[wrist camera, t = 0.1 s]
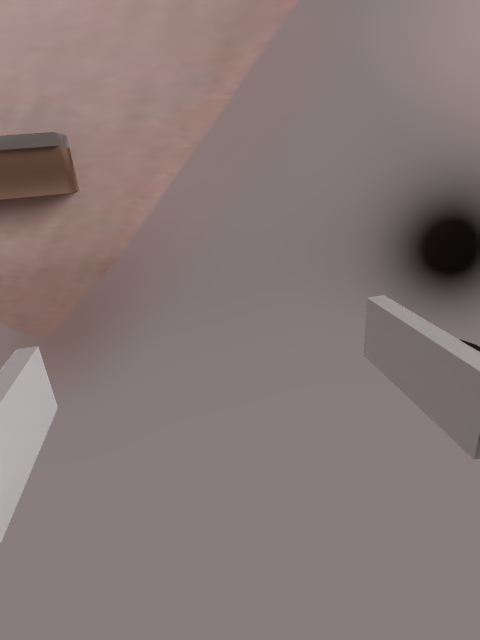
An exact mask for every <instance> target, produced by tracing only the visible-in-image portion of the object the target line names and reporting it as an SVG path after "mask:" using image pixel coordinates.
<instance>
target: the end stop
mask: <svg viewBox="0 0 480 640" xmlns="http://www.w3.org/2000/svg"><path fill="white" fill-rule="evenodd" d="M78 190H79V188H78V184H77V179H76V175H75V171H74V166H73V162H72V158H71V153H70V149H69V145H68V140H67V136H65V135H61V134H58V133H54V132H49V133H35V134H21V135H6V136H0V200H2V199H13V198H24V197H35V196H46V195H56V194H67V193H72V192H75V191H78Z"/></svg>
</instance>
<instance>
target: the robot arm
mask: <svg viewBox="0 0 480 640" xmlns="http://www.w3.org/2000/svg"><path fill="white" fill-rule="evenodd" d="M364 356H365V357H366V358H367V359H368V360H369V361H370V362H371V363H372V364H373V365H374V366H376V367H377V368H378V369H379V370H380V371H381V372H382V373H383V374H384V375H385V376H386V377H387V378H388V379H389V380H390V381H391V382H392V383H394V385H396V386H397V387H398V388H399V389H400V390H401V391H402V392H403V393H404V394H405V395H406V396H407V397H408V398H409V399H410V400H411V401H413V402H414V403H415V404H416V405H417V406H418V407H419V408H420V409H421V410H422V411H423V412H424V413H425V414H426V415H427V416H428V417H429V418H430V419H432V420H433V421H434V422H435V423H436V424H437V425H438V426H439V427H440V428H441V429H442V430H443V431H444V432H445V433H446V434H448V435H449V436H450V437H451V438H452V439H453V440H454V441H455V442H456V443H457V444H458V445H459V446H460V447H461V448H462V449H463V450H465V452H466V453H468V454H469V455H470V456H471V457H472V458H473V459H478V458H480V347H479V346H477V345H475V344H472V343H469V342H466V341H463V340H458V339H457V338H455V337H453V336H452V335H450V334H448V333H447V332H445V331H443V330H442V329H440V328H438V327H436V326H435V325H433V324H431V323H430V322H428V321H426V320H425V319H423V318H421V317H420V316H418V315H416V314H414V313H413V312H411V311H409V310H408V309H406V308H404V307H403V306H401V305H399V304H398V303H396V302H394V301H392V300H391V299H389V298H387V297H386V296H384V295H383V296H376V297H369V298H367V306H366V324H365V343H364ZM57 408H58V407H57V404H56V401H55V398H54V395H53V391H52V388H51V385H50V382H49V379H48V376H47V373H46V370H45V366H44V364H43V360H42V357H41V354H40V351H39V348H38V346H37V347H30V348H23V349H16V350H15V352H14V353H13V354H12V355H11V357H10V358H9V359H8V361H7V362H6V363H5V364H4V366H3V367H2V368H1V370H0V544H1V541H2V539H3V537H4V534H5V532H6V529H7V527H8V525H9V522H10V520H11V518H12V515H13V513H14V510H15V508H16V506H17V503H18V501H19V499H20V496H21V494H22V491H23V489H24V487H25V484H26V482H27V479H28V477H29V475H30V472H31V470H32V467H33V465H34V463H35V460H36V458H37V456H38V453H39V451H40V448H41V446H42V444H43V441H44V439H45V437H46V434H47V432H48V429H49V427H50V425H51V422H52V420H53V418H54V415H55V413H56V411H57Z"/></svg>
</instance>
